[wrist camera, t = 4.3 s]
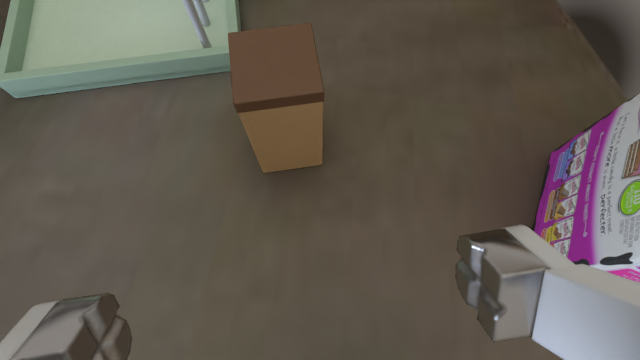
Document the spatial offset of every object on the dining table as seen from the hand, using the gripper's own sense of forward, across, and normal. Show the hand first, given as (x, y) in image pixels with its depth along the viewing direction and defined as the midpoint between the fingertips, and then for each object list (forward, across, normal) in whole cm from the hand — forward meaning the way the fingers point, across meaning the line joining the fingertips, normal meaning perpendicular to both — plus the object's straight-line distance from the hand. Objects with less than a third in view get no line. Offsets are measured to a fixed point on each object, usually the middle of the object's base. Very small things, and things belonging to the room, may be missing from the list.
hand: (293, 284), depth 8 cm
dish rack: (+32, -13, +8) cm, 36 cm away
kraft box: (+21, 0, -3) cm, 21 cm away
